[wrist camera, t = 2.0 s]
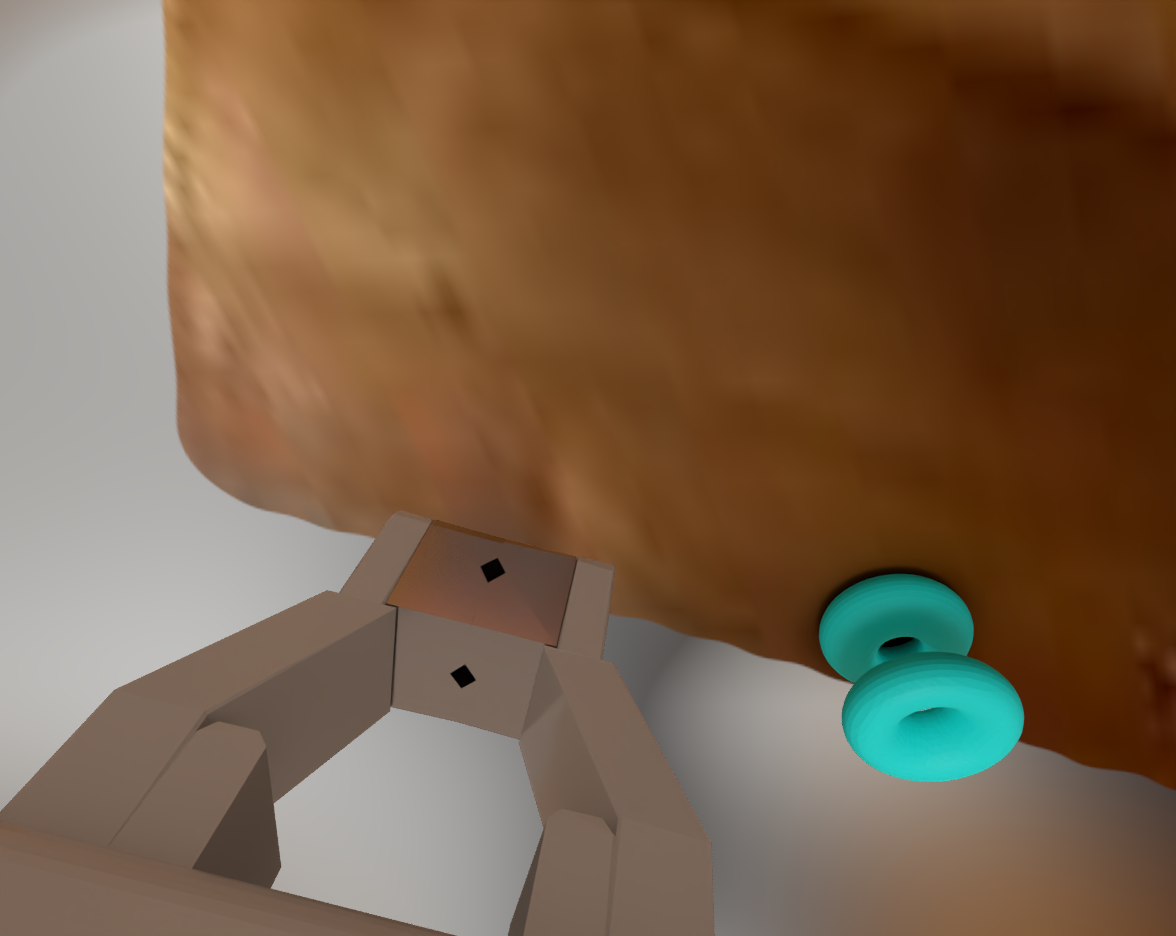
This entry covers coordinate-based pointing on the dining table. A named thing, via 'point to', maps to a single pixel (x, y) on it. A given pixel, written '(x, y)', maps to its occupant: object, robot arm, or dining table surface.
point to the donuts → (917, 681)
